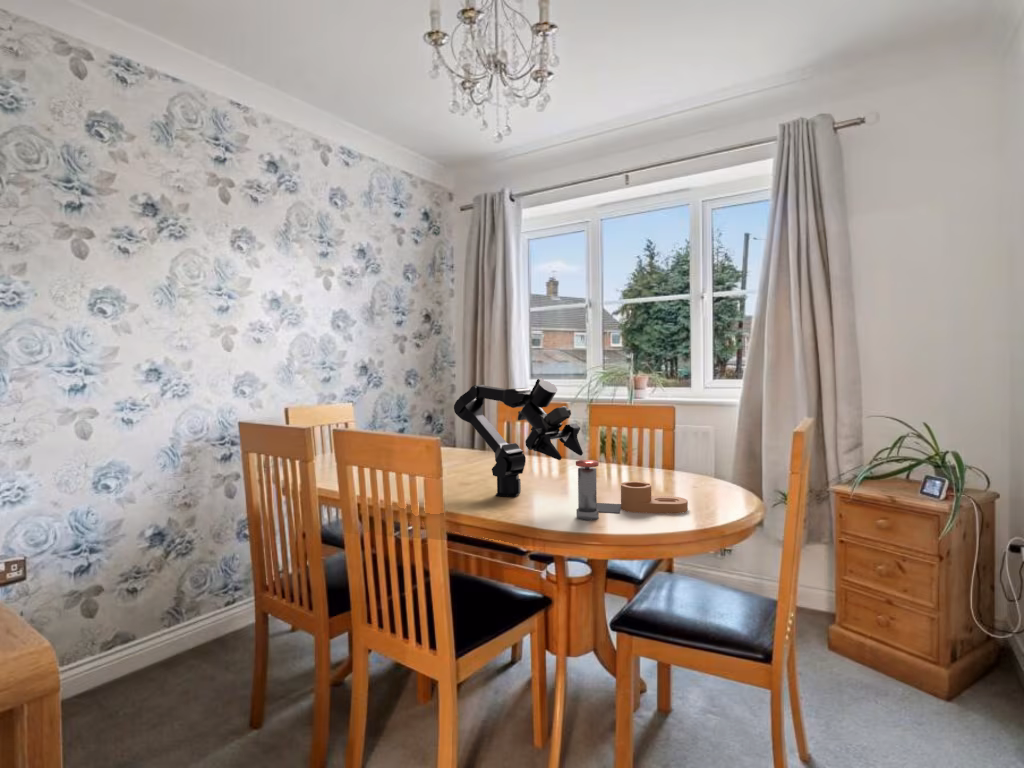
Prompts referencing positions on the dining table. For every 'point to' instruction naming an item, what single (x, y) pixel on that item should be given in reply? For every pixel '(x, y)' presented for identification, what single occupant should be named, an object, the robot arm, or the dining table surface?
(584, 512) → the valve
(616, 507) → the dark grey rectangular plate
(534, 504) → the dining table surface
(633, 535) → the dining table surface
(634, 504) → the bracket
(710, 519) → the dining table surface
